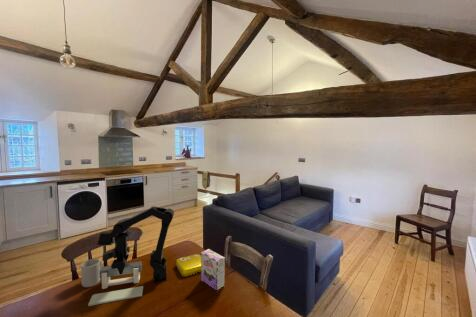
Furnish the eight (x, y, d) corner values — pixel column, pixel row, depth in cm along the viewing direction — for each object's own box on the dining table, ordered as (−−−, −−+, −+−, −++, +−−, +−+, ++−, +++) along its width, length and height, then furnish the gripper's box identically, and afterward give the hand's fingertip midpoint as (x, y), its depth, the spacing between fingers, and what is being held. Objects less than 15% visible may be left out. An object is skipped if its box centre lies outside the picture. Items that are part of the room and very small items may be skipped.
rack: (140, 275, 128) (140, 261, 127) (139, 282, 121) (138, 268, 120) (104, 280, 122) (104, 266, 122) (101, 289, 115) (100, 274, 115)
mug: (92, 288, 116) (91, 267, 115) (77, 286, 117) (76, 266, 116) (108, 274, 128) (107, 256, 127) (94, 273, 129) (94, 255, 128)
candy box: (200, 280, 124) (200, 251, 123) (208, 275, 128) (208, 248, 127) (216, 292, 114) (216, 261, 113) (225, 286, 118) (225, 257, 117)
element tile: (182, 278, 126) (182, 270, 126) (175, 265, 139) (175, 258, 139) (207, 270, 134) (207, 263, 134) (198, 259, 147) (198, 252, 146)
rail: (141, 268, 126) (141, 261, 126) (141, 271, 122) (141, 264, 122) (101, 274, 120) (101, 266, 120) (99, 278, 116) (99, 271, 116)
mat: (143, 287, 117) (143, 285, 117) (141, 296, 110) (141, 294, 110) (92, 296, 110) (92, 294, 110) (88, 306, 103) (88, 304, 103)
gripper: (108, 238, 126) (109, 265, 127) (99, 254, 109) (100, 285, 110) (129, 236, 130) (130, 262, 131) (124, 251, 112) (125, 281, 113)
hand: (121, 271), depth 121 cm, fingers closed on rail, 4 cm apart
